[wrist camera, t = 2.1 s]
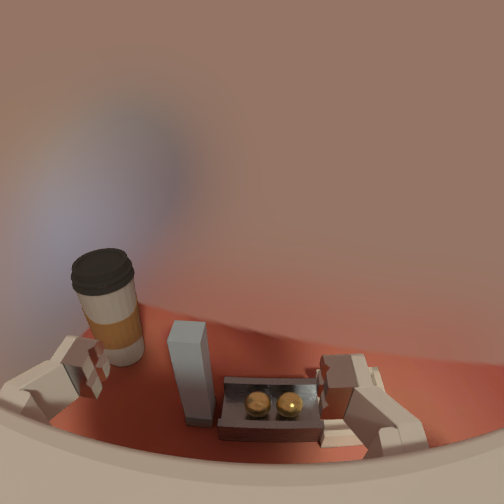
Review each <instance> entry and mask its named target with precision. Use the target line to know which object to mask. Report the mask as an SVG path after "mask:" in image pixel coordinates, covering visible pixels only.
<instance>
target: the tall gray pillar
mask: <svg viewBox="0 0 504 504" xmlns="http://www.w3.org/2000/svg"><path fill="white" fill-rule="evenodd" d="M167 343H168V348H169V352H170V357H171V361H172V365H173V370H174V374H175V378H176V382H177V386H178V390H179V394H180V398H181V402H182V405H183V409H184V413H185V416H186V418H185V422H186V425H188V426H198V427H208V428H212V426H213V420H214V414H215V407H216V397H215V394H214V387H213V380H212V372H211V364H210V356H209V348H208V339H207V331H206V322H194V321H178V320H175V321H174V324H173V326H172V329H171V332H170V334H169V337H168V340H167Z"/></svg>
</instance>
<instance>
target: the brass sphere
mask: <svg viewBox="0 0 504 504" xmlns="http://www.w3.org/2000/svg"><path fill="white" fill-rule="evenodd" d="M244 408H245V410H246V412H247V413H248V414H249V415H251V416H253V417H262V416H264V415H266V414H267V413H268V412H269V411H270V409H271V400H270V398H269V396H268V395H267V394H265V393H263V392H260V391H255V392H252V393H250V394H249V395H248V396H247V397H246V398H245V401H244Z"/></svg>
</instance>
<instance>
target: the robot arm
mask: <svg viewBox="0 0 504 504" xmlns="http://www.w3.org/2000/svg"><path fill="white" fill-rule="evenodd" d="M104 349H105V347H104V344H103V342H102V341H100V340H95V339H89V338H84V337H77V336H72V335H68V336H66V338H65V339H64V340H63V342H62V343H61V345H60V346H59V348H58V349H57V351H56V352H55V354H54V355H53V357H52V358H51V359H50V361H48V360H46V361H44V362H43V363H41V364H39V365H37V366H35V367H33V368H32V369H30V370H28V371H26V372H24V373H22V374H20V375H19V376H17V377H15V378H14V379H11V380H9V381H8V382H6V383H5V384H4V386H3V387H2V388H1V390H0V504H504V428H501V429H498V430H495V431H492V432H489V433H486V434H482V435H479V436H476V437H473V438H469V439H466V440H462V441H458V442H454V443H451V444H447V445H442V446H438V447H434V448H429V444H428V441H427V438H426V435H425V432H424V429H423V426H422V423H421V421H420V420H418V419H417V418H416V417H415V416H413V415H412V414H411V413H410V412H408V411H407V410H406V409H405V408H404V407H402V406H401V405H400V404H399V403H397V402H396V401H395V400H394V399H393V398H391V397H390V396H389V395H388V394H386V393H385V392H384V391H383V390H382V389H380V388H379V387H378V386H373V383H372V379H371V376H370V372H369V369H368V366H367V363H366V359H365V356H364V355H363V354H342V355H322V356H321V359H320V370H319V371H318V374H317V382H316V390H317V396H318V397H319V398H320V400H319V404H318V408H319V416H320V420H335V419H343V421H344V422H345V423H346V425H347V426H348V427H349V428H350V429H351V430H352V432H353V433H354V434H355V435H356V436H357V437H358V439H359V440H360V441H361V442H362V443H363V444H364V445H365V447H366V448H367V449H368V451H367V453H366V454H365V456H364V458H363V459H362V460H352V461H341V462H327V463H307V464H257V463H236V462H222V461H211V460H202V459H193V458H185V457H178V456H171V455H165V454H159V453H153V452H148V451H143V450H138V449H133V448H128V447H124V446H119V445H115V444H111V443H107V442H103V441H99V440H95V439H92V438H88V437H84V436H81V435H78V434H74V433H71V432H68V431H65V430H62V429H59V428H56V427H53V426H52V425H51V424H50V422H49V421H50V420H51V419H52V418H53V417H55V416H56V415H57V414H58V413H60V412H61V411H62V410H63V409H65V408H66V407H67V406H68V405H70V404H71V403H72V402H73V401H75V400H76V399H77V398H78V397H79V396H82V397H87V398H92V399H97V398H98V396H99V394H100V392H101V390H102V388H103V386H102V382H103V381H105V380H106V379H107V378H108V375H109V372H110V361H109V358H108V356H107V355H106V354H105V353H104V352H103V351H104Z"/></svg>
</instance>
